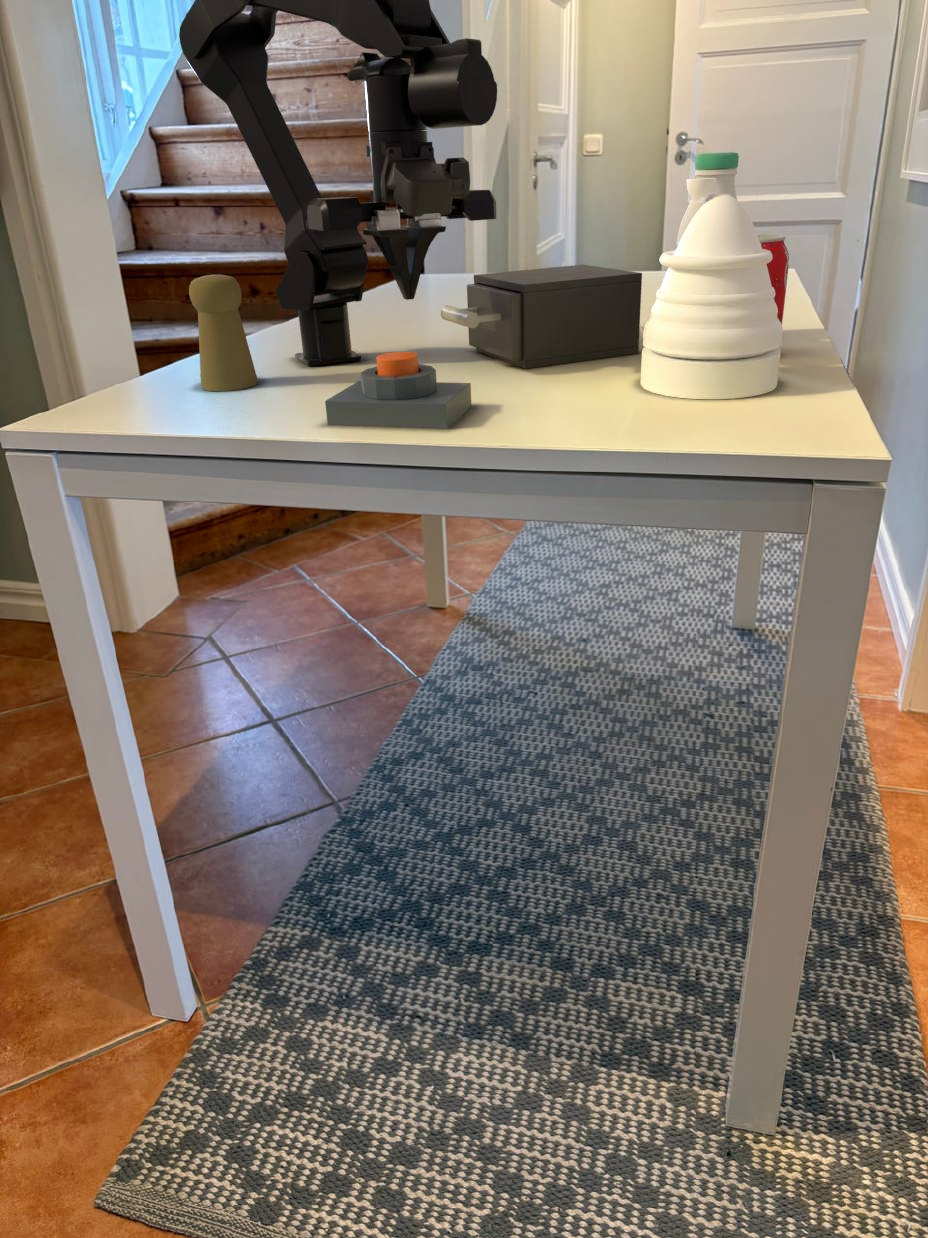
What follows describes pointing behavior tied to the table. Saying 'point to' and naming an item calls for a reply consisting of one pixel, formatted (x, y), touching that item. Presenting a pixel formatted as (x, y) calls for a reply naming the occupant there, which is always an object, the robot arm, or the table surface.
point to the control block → (399, 401)
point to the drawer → (491, 320)
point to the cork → (221, 334)
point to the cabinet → (573, 313)
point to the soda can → (777, 268)
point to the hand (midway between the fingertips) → (408, 299)
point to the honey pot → (713, 308)
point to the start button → (397, 364)
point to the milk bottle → (714, 168)
